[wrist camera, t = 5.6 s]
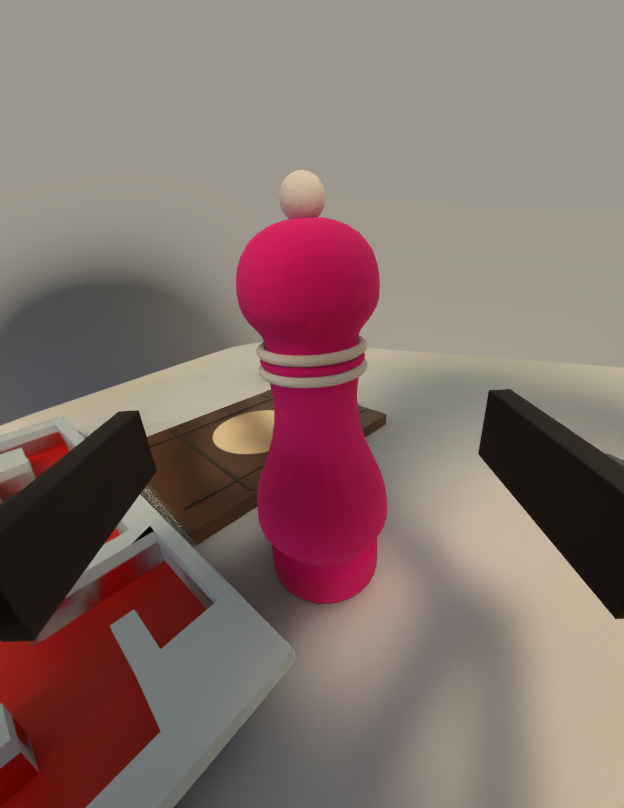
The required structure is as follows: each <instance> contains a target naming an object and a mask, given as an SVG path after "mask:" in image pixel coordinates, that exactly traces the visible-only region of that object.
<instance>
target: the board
mask: <svg viewBox="0 0 624 808" xmlns="http://www.w3.org/2000/svg"><path fill="white" fill-rule="evenodd" d="M358 413H359V419H360V423H361V427H362V430H363V434H364V437H366V436H368V435H369V434H371V433H372V432H374V431H376V430H377V429H379V428H380V427H382V426H383V425H385V424H386V414H384V413H381V412H378V411H375V410H371V409H368V408H365V407H362V406H359V405H358ZM273 428H274V400H273V395H272V391H271V390H269V391H266V392H264V393H261V394H258V395H256V396H253V397H251V398H248V399H245V400H243V401H240V402H237V403H235V404H232V405H230V406H227V407H224V408H222V409H219V410H216V411H214V412H211V413H209V414H206V415H203V416H201V417H198V418H195V419H193V420H190V421H188V422H185V423H182V424H180V425H177V426H175V427H172V428H169V429H167V430H164V431H161V432H159V433H156V434H154V435H151V436H148V437H147V440H148V443H149V446H150V450H151V453H152V456H153V459H154V463H155V466H156V469H157V471H156V473H155V474H154V476H153V477H152V478H151V480H150V481H149V483H148V484H147V485H146V486H147V487H148V488H149V489H150V491H151V492H152V493H153V494H154V495H155V496H156V497H157V498H158V500H159V501H160V502H161V503H162V504H163V505H164V506H165V508H166V509H167V510H168V511H169V512H170V513H171V514H172V515H173V517H174V518H175V519H176V520H177V521H178V522H179V523H180V524H181V526H182V527H183V528H184V529H185V530H186V531H187V532H188V534H189V535H190V536H191V537H192V538H193V539H194V540H195V541H196V543H200V542H201V541H203V540H204V539H206V538H208V537H209V536H211V535H212V534H214V533H215V532H217V531H219V530H220V529H222V528H223V527H225V526H226V525H228V524H230V523H231V522H233V521H234V520H236V519H237V518H239V517H241V516H242V515H244V514H245V513H247V512H248V511H250V510H252V509H253V508H255V507H256V506H258V505H257V494H258V487H259V480H260V475H261V472H262V469H263V467H264V464H265V461H266V458H267V455H268V452H269V448H270V444H271V440H272V435H273Z"/></svg>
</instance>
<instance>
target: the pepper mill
mask: <svg viewBox="0 0 624 808" xmlns="http://www.w3.org/2000/svg"><path fill="white" fill-rule="evenodd" d="M279 201H280V206H281V209H282V211H283V212H284V214H285V215H286V216H287V217H288V218H289V220H285V221H281V222H278V223H275V224H273V225H271V226H269V227H267V228H265V229H264V230H262V231H261V232H259V233H258V234H257V235H256V236H254V238H252V239H251V240H250V242H249V243H248V244H247V246H246V248H245V250H244V251H243V253H242V255H241V257H240V261H239V264H238V267H237V275H236V290H237V298H238V303H239V307H240V309H241V311H242V314H243V315H244V317H245V319H246V320H247V321H248V323H249V324H250V325H251V326H252V327H253V328H254V329H255V330H256V331H257V332H258V333H259V334H260V335H261V336H262V338H263V340H264V342H263V343H262V344H260V345H259V346H258V348H257V355H258V357H259V358H260V359H261V360H260V363H261V366H260V369H259V373H260V375H261V377H262V378H263V379H264V380H265V381H267V382H269V383H270V386H271V391H272V395H273V400H274V428H273V435H272V440H271V444H270V448H269V452H268V455H267V458H266V461H265V464H264V467H263V469H262V472H261V475H260V480H259V487H258V494H257V505H258V517H259V523H260V526H261V529H262V531H263V533H264V534H265V536H266V537H267V539H268V540H269V541H270V542H271V543H272V550H273V557H274V564H275V569H276V572H277V575H278V577H279V579H280V581H281V582H282V584H283V585H284V586H285V587H286V588H287V589H288V590H289V591H290V592H291V593H293V594H294V595H296V596H298V597H299V598H301V599H304V600H308V601H311V602H315V603H336V602H339V601H342V600H345V599H348V598H351V597H352V596H354V595H355V594H357V593H358V592H360V591H361V590H362V589H363V588H364V587H365V586H366V585H367V584H368V583H369V582H370V580H371V578H372V576H373V574H374V571H375V568H376V562H377V537H378V535H379V534H380V532H381V530H382V528H383V527H384V523H385V520H386V516H387V500H386V490H385V485H384V481H383V478H382V474H381V471H380V469H379V467H378V465H377V463H376V460H375V458H374V456H373V454H372V452H371V450H370V448H369V446H368V444H367V441H366V439H365V437H364V434H363V430H362V427H361V423H360V419H359V413H358V403H357V386H358V377H359V376H360V375H362V374H363V373H364V372H365V370H366V368H367V361H366V359H365V353H364V352H365V351H366V349H367V342H366V340H365V339H364V338H363V337H361V336H359V332H360V330H361V328H362V327H363V325H364V324H365V323H366V322H367V320H368V319H369V318H370V316H371V315H372V313H373V312H374V310H375V308H376V306H377V303H378V299H379V287H380V286H379V285H380V283H379V271H378V265H377V262H376V259H375V255H374V252H373V250H372V248H371V247H370V246H369V244H368V243H367V241H366V240H365V239H364V237H363V236H362V235H361V234H360V233H359V232H357V231H356V230H354V229H353V228H351V227H350V226H348V225H347V224H344V223H341V222H338V221H336V220H332V219H327V218H321V217H318V216H319V215H320V214H321V212H322V210H323V208H324V204H325V193H324V188H323V185H322V183H321V182H320V180H319V179H318V177H317V176H316V175H314V174H313V173H311V172H308V171H306V170H299V171H295V172H293V173H291V174H290V175H288V176H287V177H286V178H285V180H284V182H283V183H282V185H281V188H280V194H279Z"/></svg>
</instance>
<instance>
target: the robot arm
mask: <svg viewBox="0 0 624 808" xmlns="http://www.w3.org/2000/svg"><path fill="white" fill-rule="evenodd" d="M478 454H479V455H480V457H481V458H482V459H483V460H484V461H485V463H486V464H487V465H488V466H489V467H490V469H491V470H492V471H493V472H494V473H495V475H496V476H497V477H498V478H499V479H500V481H501V482H502V483H503V484H504V485H505V487H506V488H507V489H508V490H509V491H510V493H511V494H512V495H513V496H514V497H515V499H516V500H517V501H518V502H519V503H520V505H521V506H522V507H523V508H524V509H525V511H526V512H527V513H528V514H529V515H530V517H531V518H532V519H533V520H534V521H535V523H536V524H537V525H538V526H539V527H540V529H541V530H542V531H543V532H544V533H545V535H546V536H547V537H548V538H549V539H550V541H551V542H552V543H553V544H554V545H555V547H556V548H557V549H558V550H559V551H560V553H561V554H562V555H563V556H564V557H565V559H566V560H567V561H568V562H569V564H570V565H571V566H572V567H573V568H574V570H575V571H576V572H577V573H578V574H579V576H580V577H581V578H582V579H583V580H584V582H585V583H586V584H587V585H588V586H589V588H590V589H591V590H592V591H593V592H594V594H595V595H596V596H597V597H598V598H599V600H600V601H601V602H602V603H603V604H604V606H605V607H606V608H607V609H608V610H609V612H610V613H611V614H612V615H613V616H614V618H615V619H624V461H623V460H621V459H619V458H617V457H614V456H612V455H610V454H605V453H603V452H602V451H600V450H599V449H597V448H596V447H594V446H593V445H591V444H590V443H588V442H587V441H585V440H584V439H582V438H581V437H580V436H578V435H577V434H575V433H574V432H572V431H571V430H569V429H568V428H566V427H565V426H563V425H562V424H560V423H559V422H557V421H556V420H555V419H553V418H552V417H550V416H549V415H547V414H546V413H544V412H543V411H541V410H540V409H538V408H537V407H535V406H534V405H533V404H531V403H530V402H528V401H527V400H525V399H524V398H522V397H521V396H519V395H518V394H516V393H515V392H513V391H512V390H510V389H505V390H489V393H488V399H487V405H486V411H485V417H484V423H483V429H482V435H481V441H480V447H479V453H478ZM156 471H157V469H156V466H155V463H154V459H153V456H152V453H151V450H150V446H149V443H148V440H147V437H146V433H145V430H144V427H143V423H142V420H141V417H140V414H139V411H122V412H118V413H116V414H115V415H114V416H113V417H112V418H110V419H109V420H108V421H107V422H105V423H104V424H103V425H102V426H100V427H99V428H98V429H97V430H95V431H94V432H93V433H92V434H90V435H89V436H88V437H87V438H85V439H84V440H83V441H82V442H81V443H79V444H78V445H77V446H76V447H74V448H73V449H72V450H71V451H69V452H68V453H67V454H66V455H64V456H63V457H62V458H61V459H59V460H58V461H57V462H56V463H55V464H53V465H52V466H51V467H50V468H48V469H47V470H46V471H45V472H43V473H42V474H41V475H40V476H38V477H37V478H36V479H35V480H33V481H32V482H31V483H30V484H28V485H27V486H26V487H25V488H24V489H22V490H21V491H19V492H17V493H15V494H13V495H12V496H10V497H9V498H7V499H6V500H5V501H4V502H2V503H1V504H0V640H1V642H18V641H34V640H35V639H36V637H37V636H38V635H39V633H40V632H41V631H42V629H43V628H44V626H45V625H46V624H47V622H48V621H49V619H50V618H51V617H52V615H53V614H54V613H55V611H56V610H57V608H58V607H59V606H60V604H61V603H62V601H63V600H64V599H65V597H66V596H67V595H68V593H69V592H70V590H71V589H72V588H73V586H74V585H75V584H76V582H77V581H78V579H79V578H80V577H81V575H82V574H83V572H84V571H85V570H86V568H87V567H88V566H89V564H90V563H91V561H92V560H93V559H94V557H95V556H96V554H97V553H98V552H99V550H100V549H101V548H102V546H103V545H104V543H105V542H106V541H107V539H108V538H109V536H110V535H111V534H112V532H113V531H114V530H115V528H116V527H117V525H118V524H119V523H120V521H121V520H122V518H123V517H124V516H125V514H126V513H127V512H128V510H129V509H130V507H131V506H132V505H133V503H134V502H135V500H136V499H137V498H138V496H139V495H140V494H141V492H142V491H143V489H144V488H145V487H146V485H147V484H148V483H149V481H150V480H151V478H152V477H153V476H154V474H155V473H156Z"/></svg>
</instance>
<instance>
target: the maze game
mask: <svg viewBox="0 0 624 808" xmlns="http://www.w3.org/2000/svg"><path fill="white" fill-rule="evenodd" d="M83 440H84V438H83V437H82V436H81V435H80V434H79V433H78V432H77V430H76V429H75V428H74V427H73V426H72V425H71V424H70V423H69V422H68V421H67V420H66V419H65V418H64V417H63V416H61V417H58V418H55V419H52V420H49V421H45V422H42V423H39V424H36V425H33V426H29V427H26V428H23V429H20V430H17V431H13V432H10V433H7V434H4V435H1V436H0V504H1V503H2V502H4V501H5V500H6V499H7V498H9V497H10V496H12V495H13V494H15V493H17V492H19V491H21V490H22V489H24V488H25V487H26V486H27V485H28V484H30V483H31V482H32V481H33V480H35V479H36V478H37V477H38V476H40V475H41V474H42V473H43V472H45V471H46V470H47V469H48V468H50V467H51V466H52V465H53V464H55V463H56V462H57V461H58V460H59V459H61V458H62V457H63V456H64V455H66V454H67V453H68V452H69V451H71V450H72V449H73V448H74V447H76V446H77V445H78V444H79V443H81V442H82V441H83ZM295 662H296V659H295V652H294V648H293V647H292V646H291V645H290V644H289V643H288V642H287V641H286V640H285V639H284V638H283V637H282V636H281V635H280V634H279V633H278V632H277V631H276V630H275V629H274V628H273V627H272V626H271V625H270V624H269V623H268V622H267V621H266V620H265V619H264V618H263V617H262V616H261V615H260V614H259V613H258V612H257V611H256V610H255V609H254V608H253V607H252V606H251V605H250V604H249V603H248V602H247V601H246V600H245V599H244V598H243V597H242V596H241V595H240V594H239V593H238V592H237V591H236V590H235V589H234V588H233V587H232V586H231V585H230V584H229V583H228V582H227V581H226V580H225V579H224V578H223V577H222V576H221V575H220V574H219V573H218V572H217V571H216V570H215V569H214V568H213V567H212V566H211V565H210V564H209V563H208V562H207V561H206V560H205V559H204V558H203V557H202V556H201V555H200V554H199V553H198V552H197V551H196V550H195V549H194V548H193V547H192V546H191V545H190V544H189V543H188V542H187V541H186V540H185V539H184V538H183V537H182V536H181V535H180V534H179V533H178V532H177V531H176V530H175V529H174V528H173V527H172V526H171V525H170V524H169V523H168V522H167V521H166V520H165V519H164V518H163V517H162V516H161V515H160V514H159V513H158V512H157V511H156V510H155V509H154V508H153V507H152V506H151V505H150V504H149V503H148V502H147V501H146V500H145V499H144V498H143V497H142V496H141V495H139V496H138V498H137V499H136V500H135V502H134V503H133V505H132V506H131V507H130V509H129V510H128V512H127V513H126V514H125V516H124V517H123V518H122V520H121V521H120V523H119V524H118V525H117V527H116V528H115V530H114V531H113V532H112V534H111V535H110V536H109V538H108V539H107V541H106V542H105V543H104V545H103V546H102V548H101V549H100V550H99V552H98V553H97V554H96V556H95V557H94V559H93V560H92V561H91V563H90V564H89V566H88V567H87V568H86V570H85V571H84V572H83V574H82V575H81V577H80V578H79V579H78V581H77V582H76V584H75V585H74V586H73V588H72V589H71V590H70V592H69V593H68V595H67V596H66V597H65V599H64V600H63V601H62V603H61V604H60V606H59V607H58V608H57V610H56V611H55V613H54V614H53V615H52V617H51V618H50V619H49V621H48V622H47V624H46V625H45V626H44V628H43V629H42V631H41V632H40V633H39V635H38V636H37V637H36V639H35V640H34V641H18V642H1V640H0V808H174V807H175V805H176V804H177V803H178V802H179V801H180V799H181V798H182V797H183V796H184V795H185V793H186V792H187V791H188V790H189V789H190V787H191V786H192V785H193V784H194V783H195V781H196V780H197V779H198V778H199V777H200V775H201V774H202V773H203V772H204V771H205V770H206V768H207V767H208V766H209V765H210V764H211V762H212V761H213V760H214V759H215V758H216V756H217V755H218V754H219V753H220V752H221V750H222V749H223V748H224V747H225V746H226V744H227V743H228V742H229V741H230V740H231V738H232V737H233V736H234V735H235V734H236V732H237V731H238V730H239V729H240V728H241V726H242V725H243V724H244V723H245V722H246V720H247V719H248V718H249V717H250V716H251V714H252V713H253V712H254V711H255V710H256V708H257V707H258V706H259V705H260V704H261V702H262V701H263V700H264V699H265V698H266V696H267V695H268V694H269V693H270V692H271V690H272V689H273V688H274V687H275V686H276V684H277V683H278V682H279V681H280V680H281V678H282V677H283V676H284V675H285V674H286V672H287V671H288V670H289V669H290V668H291V666H292V665H293V664H294V663H295Z"/></svg>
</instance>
